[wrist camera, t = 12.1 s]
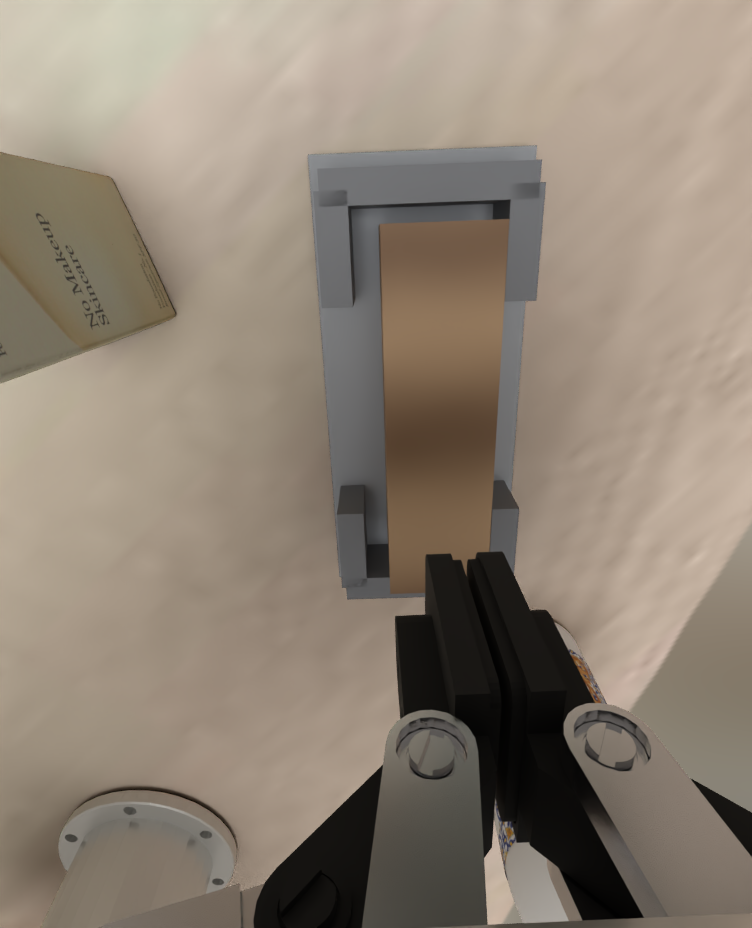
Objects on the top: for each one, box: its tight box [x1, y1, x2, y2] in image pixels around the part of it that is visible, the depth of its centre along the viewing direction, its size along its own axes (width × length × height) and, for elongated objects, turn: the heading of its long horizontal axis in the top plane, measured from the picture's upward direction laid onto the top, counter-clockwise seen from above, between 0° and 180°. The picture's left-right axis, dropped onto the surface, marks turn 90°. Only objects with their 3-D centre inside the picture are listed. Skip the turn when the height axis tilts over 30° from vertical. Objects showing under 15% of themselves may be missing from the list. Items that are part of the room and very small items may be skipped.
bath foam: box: [494, 622, 607, 923], centre depth 23 cm, size 7×7×20 cm
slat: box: [379, 219, 509, 594], centre depth 22 cm, size 14×4×6 cm, turn 2°
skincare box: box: [0, 152, 175, 383], centre depth 18 cm, size 6×4×12 cm
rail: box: [308, 145, 546, 599], centre depth 24 cm, size 20×9×4 cm, turn 2°
